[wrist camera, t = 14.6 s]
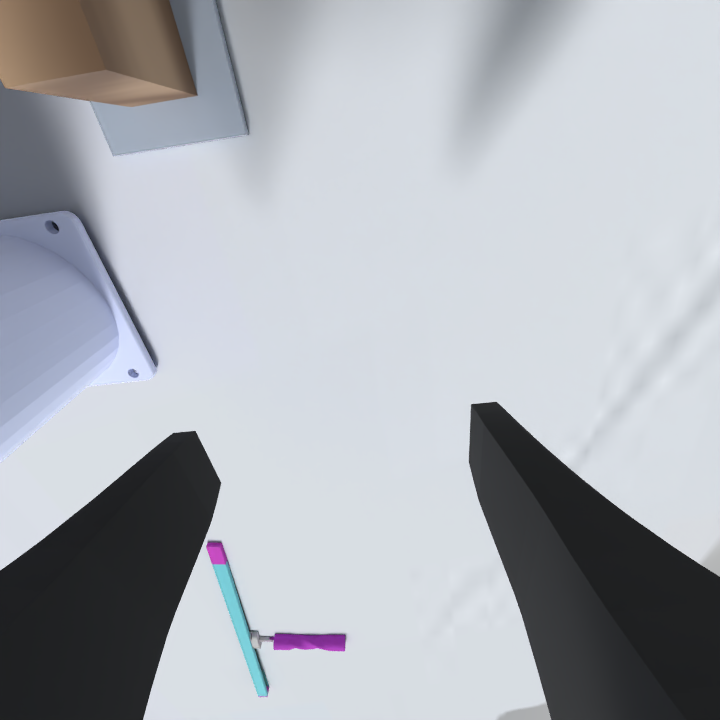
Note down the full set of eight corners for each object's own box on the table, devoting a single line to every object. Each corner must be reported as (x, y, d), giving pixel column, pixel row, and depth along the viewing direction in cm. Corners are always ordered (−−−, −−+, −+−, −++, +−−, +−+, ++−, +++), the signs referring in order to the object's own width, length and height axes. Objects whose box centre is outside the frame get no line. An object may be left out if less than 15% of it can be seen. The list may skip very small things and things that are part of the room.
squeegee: (345, 701, 40) (257, 700, 40) (346, 682, 42) (261, 680, 42) (342, 553, 26) (204, 550, 26) (343, 531, 27) (213, 529, 27)
